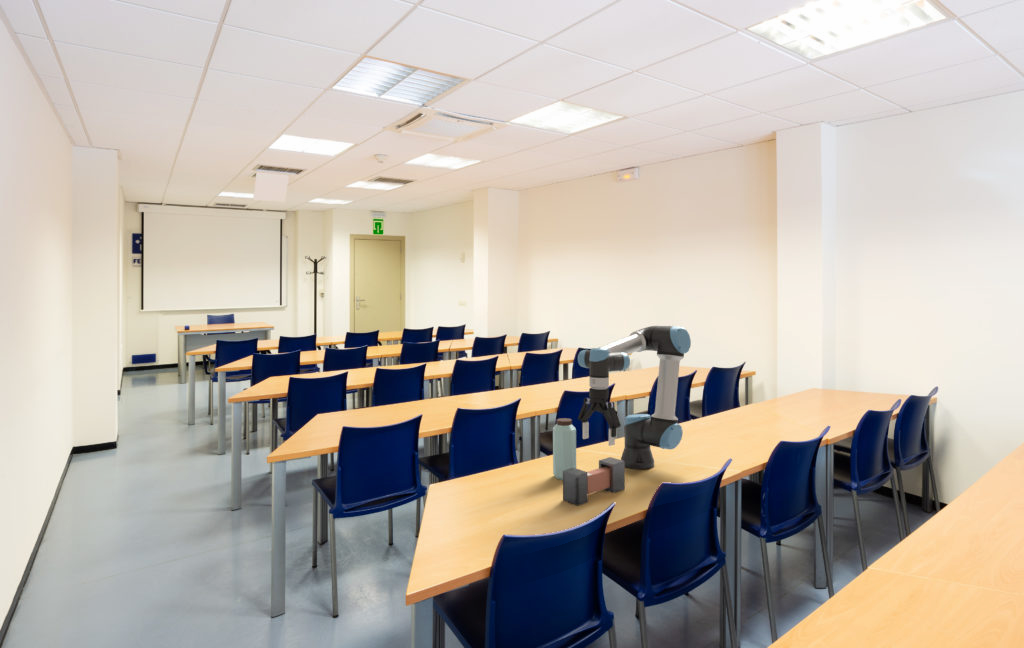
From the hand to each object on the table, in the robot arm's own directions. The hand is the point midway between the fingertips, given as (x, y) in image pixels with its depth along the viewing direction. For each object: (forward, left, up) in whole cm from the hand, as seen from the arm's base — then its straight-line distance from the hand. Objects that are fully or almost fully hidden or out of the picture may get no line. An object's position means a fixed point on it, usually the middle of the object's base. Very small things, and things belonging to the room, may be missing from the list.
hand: (598, 441), depth 214 cm
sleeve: (-8, 0, -21) cm, 22 cm away
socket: (+13, 0, -21) cm, 24 cm away
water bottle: (-4, -23, -21) cm, 32 cm away
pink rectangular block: (-1, 0, -19) cm, 19 cm away
